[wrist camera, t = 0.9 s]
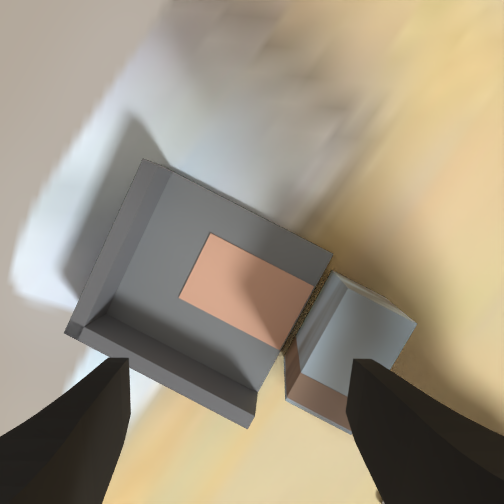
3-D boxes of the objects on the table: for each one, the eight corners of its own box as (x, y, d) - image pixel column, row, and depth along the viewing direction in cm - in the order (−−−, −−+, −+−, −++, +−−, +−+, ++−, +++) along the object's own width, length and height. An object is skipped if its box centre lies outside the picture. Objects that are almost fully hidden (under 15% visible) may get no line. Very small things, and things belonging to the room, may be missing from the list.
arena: (332, 253, 25) (340, 260, 22) (251, 401, 27) (247, 429, 23) (161, 165, 25) (142, 158, 22) (90, 317, 27) (63, 333, 24)
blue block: (385, 297, 25) (417, 324, 19) (334, 384, 26) (351, 435, 20) (331, 269, 25) (348, 288, 19) (283, 357, 26) (284, 400, 20)
